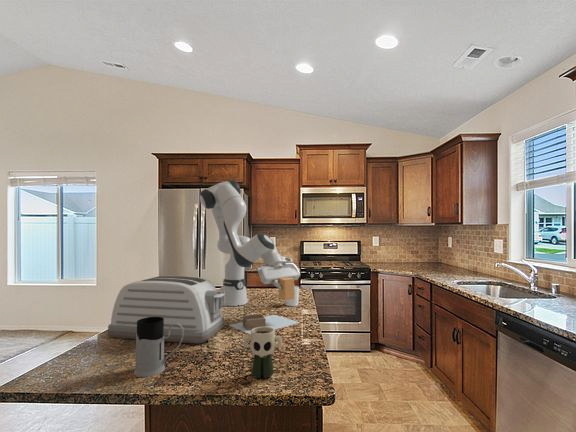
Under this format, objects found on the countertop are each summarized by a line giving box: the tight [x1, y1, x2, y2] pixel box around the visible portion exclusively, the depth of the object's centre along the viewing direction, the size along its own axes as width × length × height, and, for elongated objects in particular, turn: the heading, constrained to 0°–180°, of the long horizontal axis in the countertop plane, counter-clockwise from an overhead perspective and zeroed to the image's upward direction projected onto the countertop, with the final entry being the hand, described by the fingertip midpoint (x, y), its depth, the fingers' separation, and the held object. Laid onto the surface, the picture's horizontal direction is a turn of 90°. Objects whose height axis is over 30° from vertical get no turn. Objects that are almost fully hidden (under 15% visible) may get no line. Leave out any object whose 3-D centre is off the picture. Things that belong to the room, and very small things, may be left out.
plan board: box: [228, 314, 301, 336], centre depth 141 cm, size 18×26×1 cm
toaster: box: [107, 275, 226, 345], centre depth 133 cm, size 23×45×22 cm, turn 78°
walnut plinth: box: [242, 313, 266, 330], centre depth 137 cm, size 8×8×4 cm
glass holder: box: [133, 317, 184, 378], centre depth 98 cm, size 9×14×15 cm, turn 94°
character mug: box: [243, 327, 282, 379], centre depth 94 cm, size 11×7×13 cm, turn 91°
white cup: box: [285, 285, 300, 307], centre depth 181 cm, size 8×8×10 cm
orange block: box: [278, 278, 295, 301], centre depth 145 cm, size 5×5×9 cm
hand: (287, 288), depth 145 cm, fingers closed on orange block, 5 cm apart
